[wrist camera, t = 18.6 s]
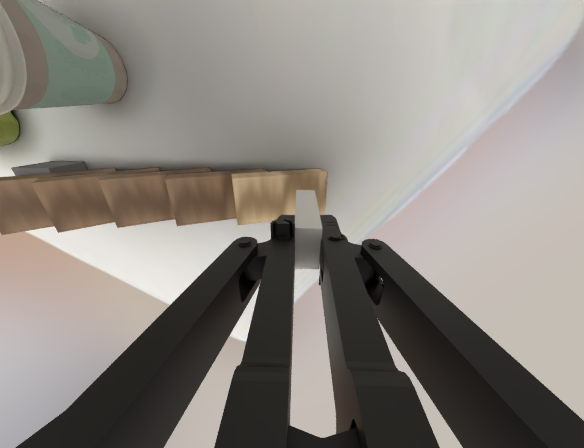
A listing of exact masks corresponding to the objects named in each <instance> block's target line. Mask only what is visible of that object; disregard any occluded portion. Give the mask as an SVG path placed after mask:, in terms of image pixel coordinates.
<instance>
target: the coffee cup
mask: <svg viewBox="0 0 584 448" xmlns="http://www.w3.org/2000/svg"><path fill="white" fill-rule="evenodd" d="M126 88H127V75H126V70H125V67H124V64H123V62H122V60H121V58H120V56H119V55H118V53H117V52H116V50H115V49H114V48H113V47H112V46H111V45H110V44H109V43H108V42H107V41H106V40H105V39H103V38H102V37H100V36H98V35H96V34H95V33H93V32H91V31H90V30H88V29H86V28H84V27H83V26H81V25H79V24H77V23H76V22H74V21H72V20H70V19H69V18H67V17H65V16H63V15H62V14H60V13H58V12H56V11H55V10H53V9H51V8H49V7H48V6H46V5H44V4H42V3H41V2H39V1H37V0H0V115H2V114H5V113H8V112H10V111H11V110H16V109H32V108H47V107H62V106H77V105H92V104H105V103H114V102H116V101H118V100H120V99H121V98H122V97H123V95H124V93H125V91H126Z"/></svg>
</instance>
